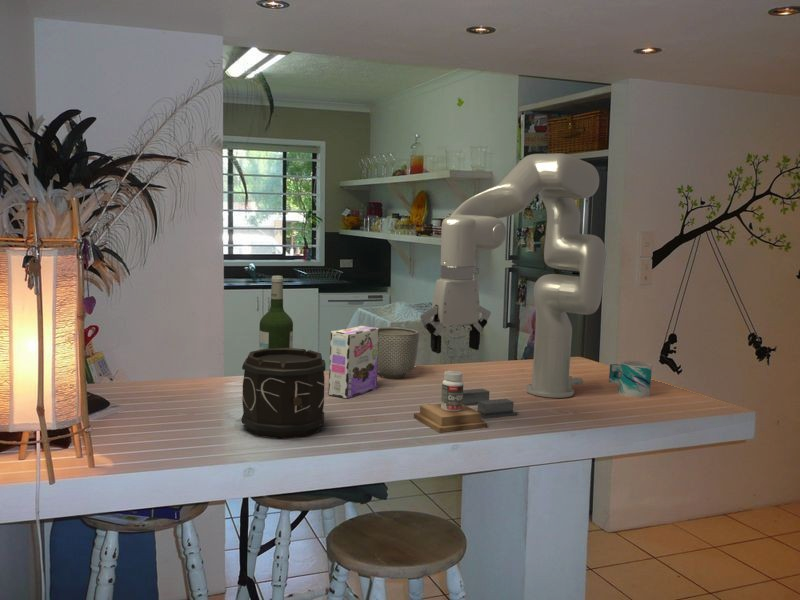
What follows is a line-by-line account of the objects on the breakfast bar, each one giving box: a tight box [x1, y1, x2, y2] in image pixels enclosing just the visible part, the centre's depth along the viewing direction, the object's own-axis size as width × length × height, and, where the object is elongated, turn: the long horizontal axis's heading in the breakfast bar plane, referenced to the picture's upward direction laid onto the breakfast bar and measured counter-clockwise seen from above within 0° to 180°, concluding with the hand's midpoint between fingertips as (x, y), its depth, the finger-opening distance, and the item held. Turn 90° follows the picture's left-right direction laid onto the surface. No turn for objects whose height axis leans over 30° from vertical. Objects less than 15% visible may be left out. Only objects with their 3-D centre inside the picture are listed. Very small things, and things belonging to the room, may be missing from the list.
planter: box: [377, 326, 420, 380], centre depth 211 cm, size 14×14×13 cm
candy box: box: [328, 325, 379, 399], centre depth 190 cm, size 14×6×16 cm, turn 148°
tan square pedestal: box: [413, 403, 488, 433], centre depth 167 cm, size 12×12×3 cm
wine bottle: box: [258, 275, 294, 350], centre depth 179 cm, size 8×8×30 cm
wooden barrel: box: [240, 347, 327, 440], centre depth 158 cm, size 18×18×16 cm
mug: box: [608, 360, 653, 399], centre depth 203 cm, size 8×12×8 cm
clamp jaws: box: [462, 388, 518, 419], centre depth 181 cm, size 9×15×3 cm, turn 26°
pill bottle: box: [440, 370, 464, 412], centre depth 167 cm, size 5×5×8 cm
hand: (455, 350), depth 166 cm, fingers open, 9 cm apart
